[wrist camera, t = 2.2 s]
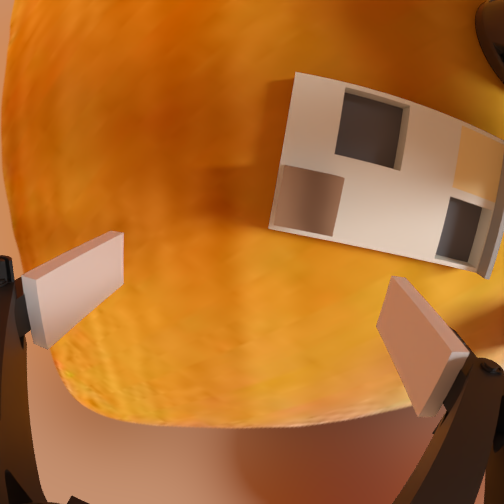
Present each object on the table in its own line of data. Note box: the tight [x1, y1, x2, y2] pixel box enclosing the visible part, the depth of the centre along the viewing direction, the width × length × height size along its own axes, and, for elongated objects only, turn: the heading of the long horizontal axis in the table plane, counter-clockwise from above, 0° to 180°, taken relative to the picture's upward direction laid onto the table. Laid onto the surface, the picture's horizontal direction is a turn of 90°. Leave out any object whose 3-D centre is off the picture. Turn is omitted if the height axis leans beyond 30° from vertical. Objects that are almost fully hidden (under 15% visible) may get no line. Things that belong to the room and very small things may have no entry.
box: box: [268, 72, 504, 279], centre depth 29 cm, size 26×16×4 cm, turn 80°
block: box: [274, 165, 345, 237], centre depth 28 cm, size 5×5×5 cm
